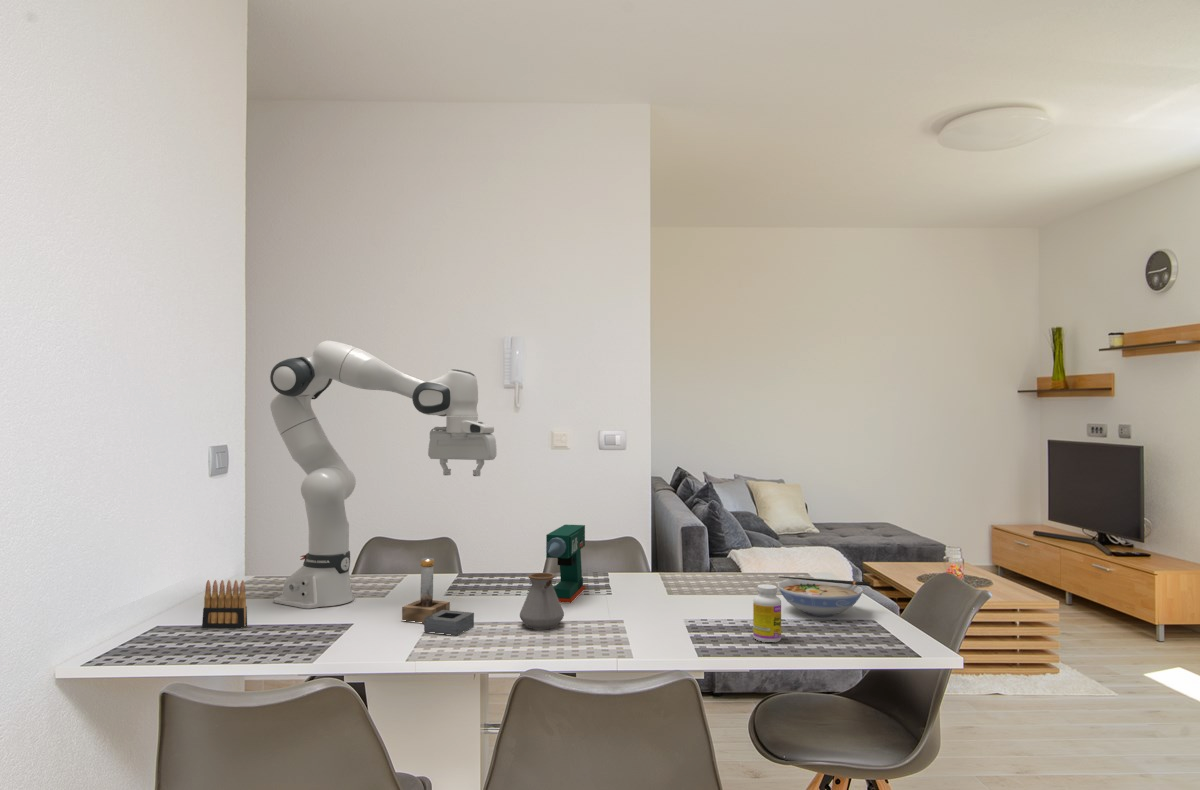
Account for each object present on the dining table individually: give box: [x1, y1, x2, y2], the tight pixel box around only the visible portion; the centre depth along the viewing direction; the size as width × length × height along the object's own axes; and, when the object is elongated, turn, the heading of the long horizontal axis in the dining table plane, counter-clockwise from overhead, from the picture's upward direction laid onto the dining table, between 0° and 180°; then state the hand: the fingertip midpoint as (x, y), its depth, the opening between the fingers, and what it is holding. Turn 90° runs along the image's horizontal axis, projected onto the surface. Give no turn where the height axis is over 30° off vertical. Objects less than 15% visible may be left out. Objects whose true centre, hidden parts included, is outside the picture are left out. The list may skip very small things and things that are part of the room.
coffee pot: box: [519, 572, 565, 630], centre depth 190 cm, size 21×12×15 cm, turn 11°
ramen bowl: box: [777, 576, 871, 617], centre depth 208 cm, size 25×23×8 cm
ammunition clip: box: [201, 579, 248, 629], centre depth 192 cm, size 11×2×12 cm, turn 90°
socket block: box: [423, 609, 475, 636], centre depth 190 cm, size 9×9×4 cm
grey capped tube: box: [419, 557, 435, 607], centre depth 201 cm, size 3×3×15 cm
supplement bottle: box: [752, 583, 782, 643], centre depth 183 cm, size 7×7×13 cm
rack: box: [401, 599, 451, 623], centre depth 200 cm, size 9×9×4 cm
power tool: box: [545, 524, 586, 604], centre depth 221 cm, size 32×7×20 cm, turn 168°
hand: (461, 475), depth 213 cm, fingers open, 8 cm apart
